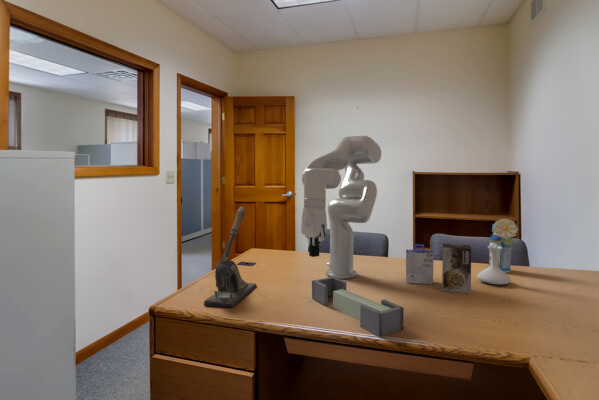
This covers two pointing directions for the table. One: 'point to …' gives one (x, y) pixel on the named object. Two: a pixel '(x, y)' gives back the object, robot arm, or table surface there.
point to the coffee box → (456, 268)
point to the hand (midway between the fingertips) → (314, 256)
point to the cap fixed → (382, 319)
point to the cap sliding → (326, 288)
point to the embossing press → (230, 274)
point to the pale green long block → (353, 303)
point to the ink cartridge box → (419, 265)
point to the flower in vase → (493, 271)
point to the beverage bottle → (501, 253)
